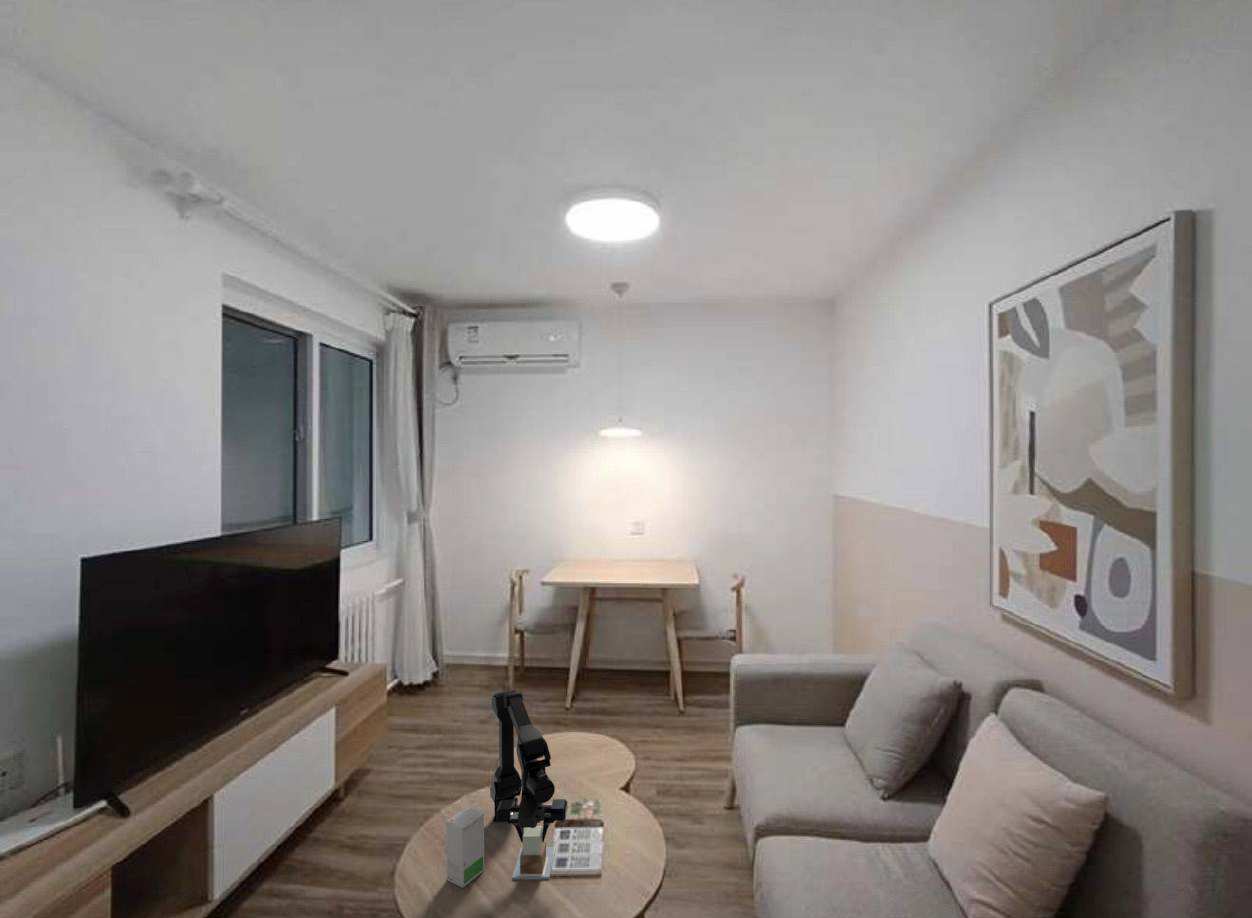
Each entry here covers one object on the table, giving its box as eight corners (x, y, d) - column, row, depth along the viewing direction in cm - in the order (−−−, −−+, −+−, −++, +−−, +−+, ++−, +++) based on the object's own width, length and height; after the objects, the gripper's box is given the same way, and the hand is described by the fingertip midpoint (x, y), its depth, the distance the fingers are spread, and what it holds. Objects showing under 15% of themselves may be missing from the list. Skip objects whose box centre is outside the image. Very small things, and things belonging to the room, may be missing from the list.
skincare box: (462, 889, 148) (461, 829, 148) (444, 879, 151) (444, 821, 151) (485, 869, 155) (485, 812, 155) (469, 861, 158) (468, 805, 158)
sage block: (523, 855, 152) (522, 836, 153) (526, 843, 157) (525, 825, 157) (540, 855, 152) (539, 836, 153) (542, 843, 157) (542, 825, 157)
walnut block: (520, 873, 152) (519, 856, 152) (524, 858, 158) (524, 842, 158) (542, 873, 152) (542, 856, 152) (546, 858, 158) (545, 842, 158)
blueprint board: (512, 879, 151) (511, 876, 151) (520, 849, 163) (520, 846, 163) (549, 879, 151) (549, 876, 151) (555, 848, 163) (555, 846, 163)
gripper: (490, 801, 147) (491, 862, 147) (562, 800, 147) (563, 861, 147) (500, 778, 158) (501, 834, 158) (567, 777, 158) (568, 833, 158)
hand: (532, 841), depth 155 cm, fingers open, 5 cm apart
